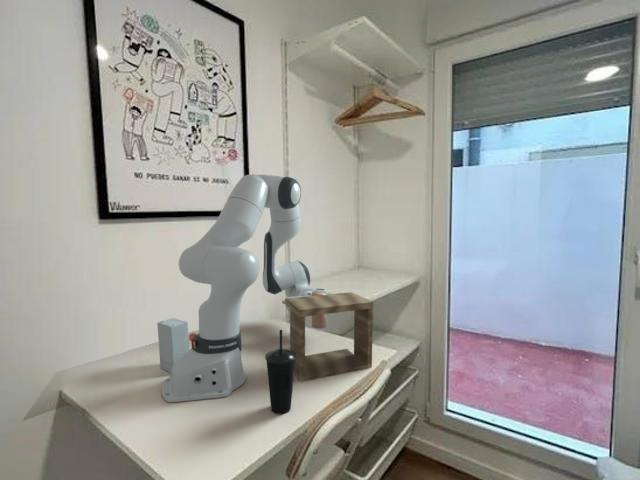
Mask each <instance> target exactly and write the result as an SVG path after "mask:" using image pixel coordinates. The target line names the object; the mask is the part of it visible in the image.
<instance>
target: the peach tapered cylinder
mask: <svg viewBox="0 0 640 480" xmlns="http://www.w3.org/2000/svg"><path fill="white" fill-rule="evenodd" d="M317 295H327V293H326V292H320V291H318V292H312V296H317ZM311 327H312V328H314V329H318V330H320V329H324V328H327V314H322V315H313V316H311Z"/></svg>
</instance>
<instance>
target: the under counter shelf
mask: <svg viewBox="0 0 640 480" xmlns="http://www.w3.org/2000/svg"><path fill="white" fill-rule="evenodd" d="M284 300H285V304H284V305H285V307H286V306H287V307H289V308H290V311H289V326H290V327H289V350H291V351H293V352H295V353H296V355H297V357H296V359H295V368H294V377H296V378H297V380H298V381H299V382H305V381H310V380H316V379H321V378H326V377H331V376H335V375H340V374H346V373H351V372H354V371H355V372H356V371H361V370H366V369H371V368H373V366H372V365H373V333H374V332H373V330H374V329H373V323H374V322H373V320H374V319H373V318H374V301H372V300H370V299H368V298H366V297H363V296H361V295H359V294H357V293H354V292H352V291H349V292H348V291H347V292H339V293H333V294H327V295H317V296H306V297H296V298H287V297H286V298H285V299H284ZM345 312H353V313H354V314H353V315H354V317H353V320H354V322H353V323H354V324H353V327H354V328H353V352H352V351H350V349H348V348H343V349H337V350H332V351H326V352H321V353H320V352H318V353H315V354H308V355H306V317H312V316H313V315H322V314H326V315H329V314H336V313H345Z"/></svg>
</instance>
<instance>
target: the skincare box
mask: <svg viewBox="0 0 640 480" xmlns="http://www.w3.org/2000/svg"><path fill="white" fill-rule="evenodd" d="M156 325H157V338H158V349H159V350H158V351H159V364H160V366H159V367H160V369H163V370H165V371H166V372H169V373H170V374H171V371H172V368H173V365H174V363H175V362H176V361H177V360H178V359H179V358H181V357H182V356H183V355H184V354H185V353H187V352H188V351H189V350H190V340H189V325H188V321H186V320H182V319H179V318H175V317H171V318H168V319H165V320H161V321H158V322H157V323H156Z"/></svg>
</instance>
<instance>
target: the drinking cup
mask: <svg viewBox="0 0 640 480" xmlns="http://www.w3.org/2000/svg"><path fill="white" fill-rule="evenodd" d="M296 357H297V355H296V353H295V352H293V351H291V350H290V349H287V348H283V330H282V329H279V348H277V349H274V350H271V351H269V352H267V353H266V354H265V356H264V358H265V361H266V369H267V370H266V371H267V379H268V390H269V399H270V400H269V401H270V411H271V412H272V413H273V414H276V415H284V414H287V413H289V412H290V411H291V407H292V398H293V388H294V387H293V386H294V377H295V374H294V368H295V359H296Z"/></svg>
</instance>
